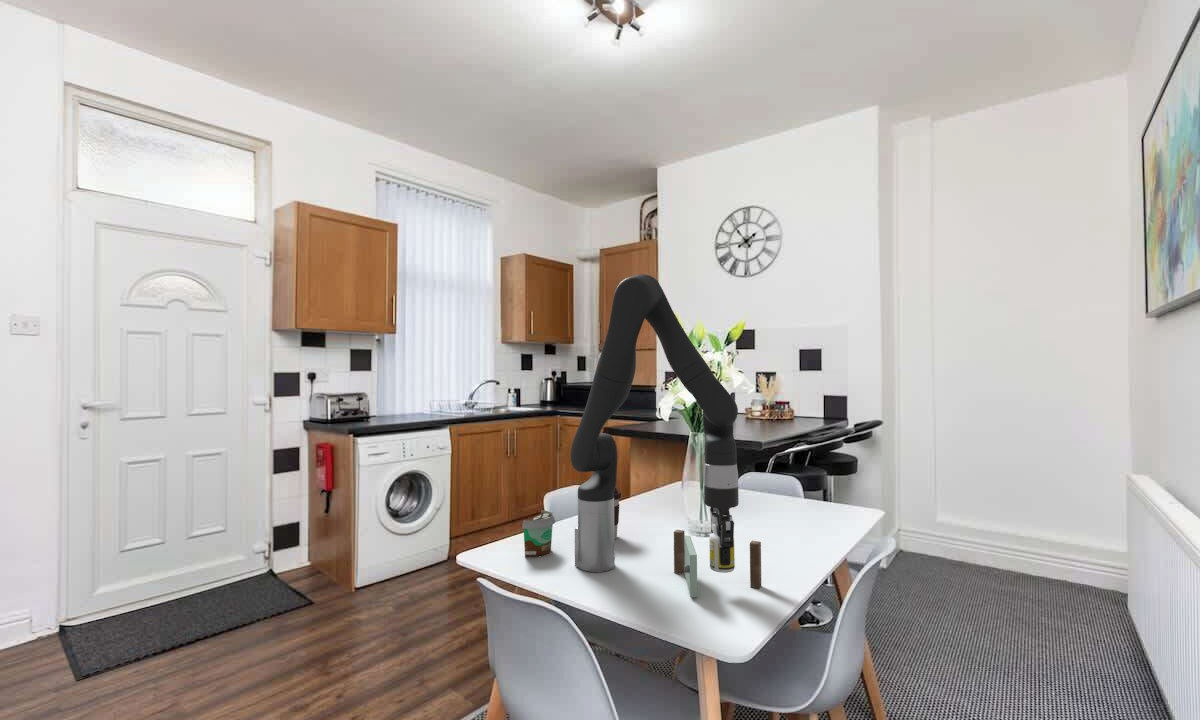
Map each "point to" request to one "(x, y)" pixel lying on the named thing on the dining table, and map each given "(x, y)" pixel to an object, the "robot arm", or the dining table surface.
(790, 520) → the dining table surface
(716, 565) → the supplement bottle
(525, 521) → the food container
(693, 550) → the door
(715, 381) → the robot arm
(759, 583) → the door frame
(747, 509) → the dining table surface
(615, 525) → the coffee cup
